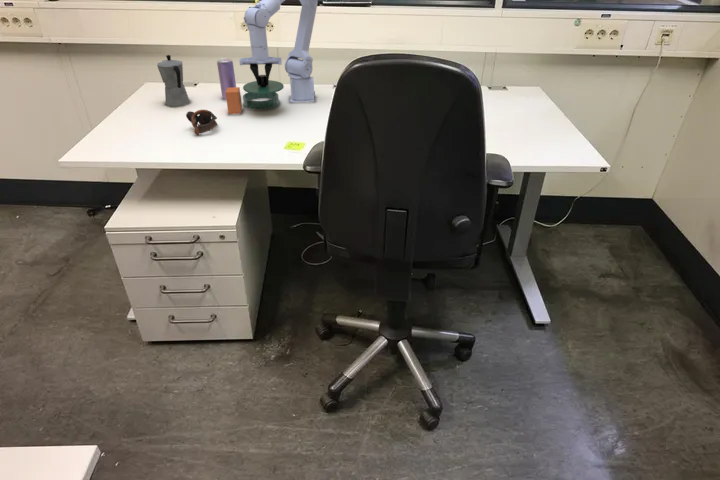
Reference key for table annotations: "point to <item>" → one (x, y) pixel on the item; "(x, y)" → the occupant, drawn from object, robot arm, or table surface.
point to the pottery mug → (202, 120)
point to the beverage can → (226, 74)
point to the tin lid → (263, 86)
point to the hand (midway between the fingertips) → (263, 84)
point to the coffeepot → (173, 82)
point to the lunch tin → (260, 104)
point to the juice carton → (234, 100)
